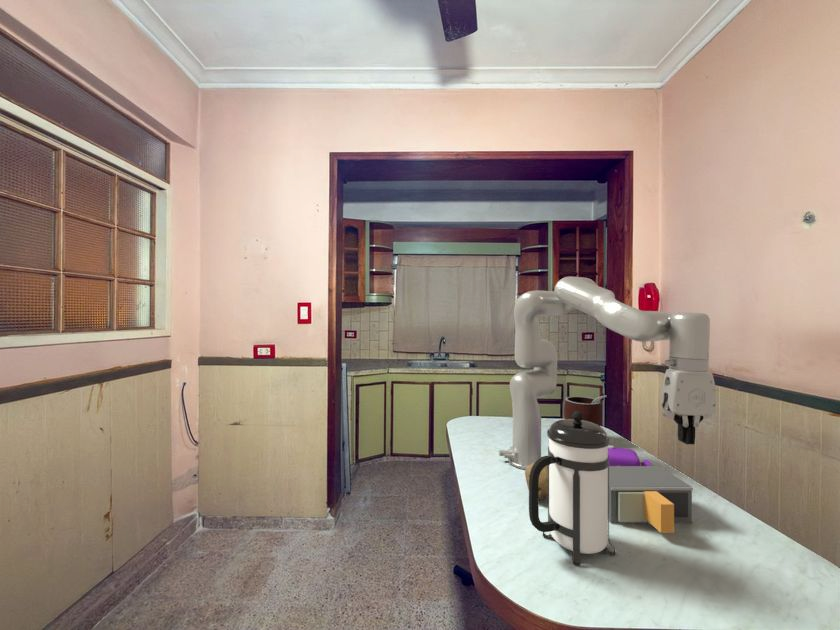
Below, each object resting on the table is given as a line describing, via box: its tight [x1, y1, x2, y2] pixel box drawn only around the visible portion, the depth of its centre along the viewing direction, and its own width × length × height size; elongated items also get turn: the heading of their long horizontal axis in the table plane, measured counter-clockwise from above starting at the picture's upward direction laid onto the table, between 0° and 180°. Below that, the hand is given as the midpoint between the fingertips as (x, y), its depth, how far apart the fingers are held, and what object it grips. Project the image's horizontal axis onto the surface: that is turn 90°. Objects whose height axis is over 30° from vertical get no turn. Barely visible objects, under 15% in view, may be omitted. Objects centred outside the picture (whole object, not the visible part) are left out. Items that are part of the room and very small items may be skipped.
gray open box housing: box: [609, 465, 694, 524], centre depth 94 cm, size 22×12×9 cm, turn 90°
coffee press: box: [528, 411, 616, 566], centre depth 80 cm, size 17×16×30 cm
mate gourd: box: [563, 394, 607, 427], centre depth 144 cm, size 16×14×20 cm
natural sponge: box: [524, 462, 548, 500], centre depth 101 cm, size 9×9×10 cm
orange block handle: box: [618, 491, 675, 534], centre depth 85 cm, size 9×7×8 cm
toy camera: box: [608, 444, 652, 466], centre depth 110 cm, size 11×14×10 cm
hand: (686, 442), depth 85 cm, fingers closed
